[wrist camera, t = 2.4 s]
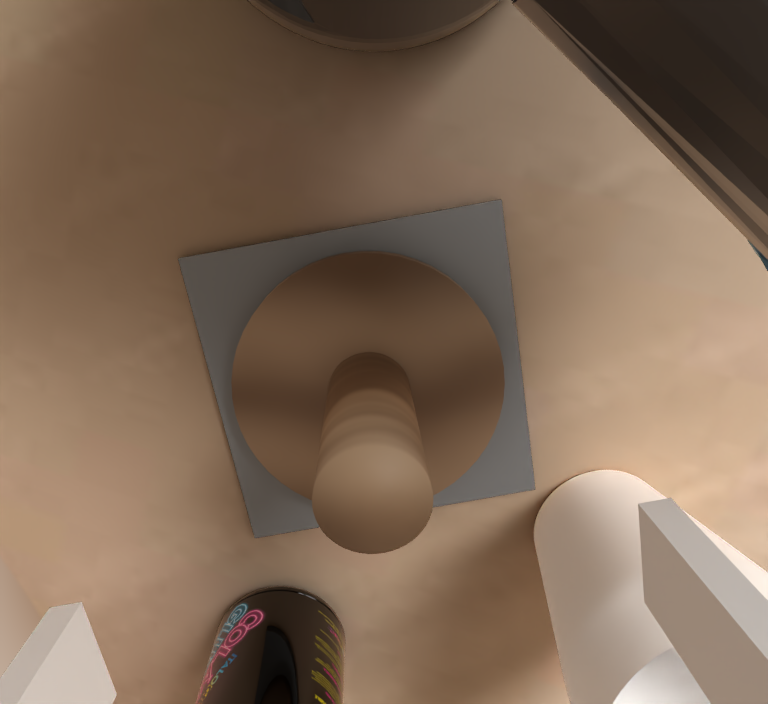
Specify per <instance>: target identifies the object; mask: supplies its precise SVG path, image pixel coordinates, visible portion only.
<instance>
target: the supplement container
mask: <svg viewBox="0 0 768 704" xmlns="http://www.w3.org/2000/svg"><path fill="white" fill-rule="evenodd" d="M344 662H345V635H344V630H343V627H342V624H341V622H340V620H339V618H338V617H337V615H336V613H335V612H334V611H333V609H332V608H331V607H330V606H329V605H328V604H327V603H326V602H325V601H324V600H322V599H321V598H319V597H318V596H316V595H314V594H313V593H310V592H308V591H306V590H303V589H299V588H295V587H288V586H274V587H267V588H263V589H259V590H256V591H254V592H251V593H249V594H247V595H246V596H244V597H242V598H241V599H240V600H238V601H237V602H236V603H235V604H234V605H233V606H232V607H231V608H230V609H229V610H228V611H227V612H226V613H225V615H224V617H223V618H222V620H221V622H220V624H219V627H218V631H217V634H216V637H215V640H214V644H213V647H212V650H211V653H210V657H209V660H208V663H207V666H206V670H205V673H204V676H203V679H202V683H201V686H200V689H199V692H198V696H197V699H196V702H195V704H343V691H344Z"/></svg>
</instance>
